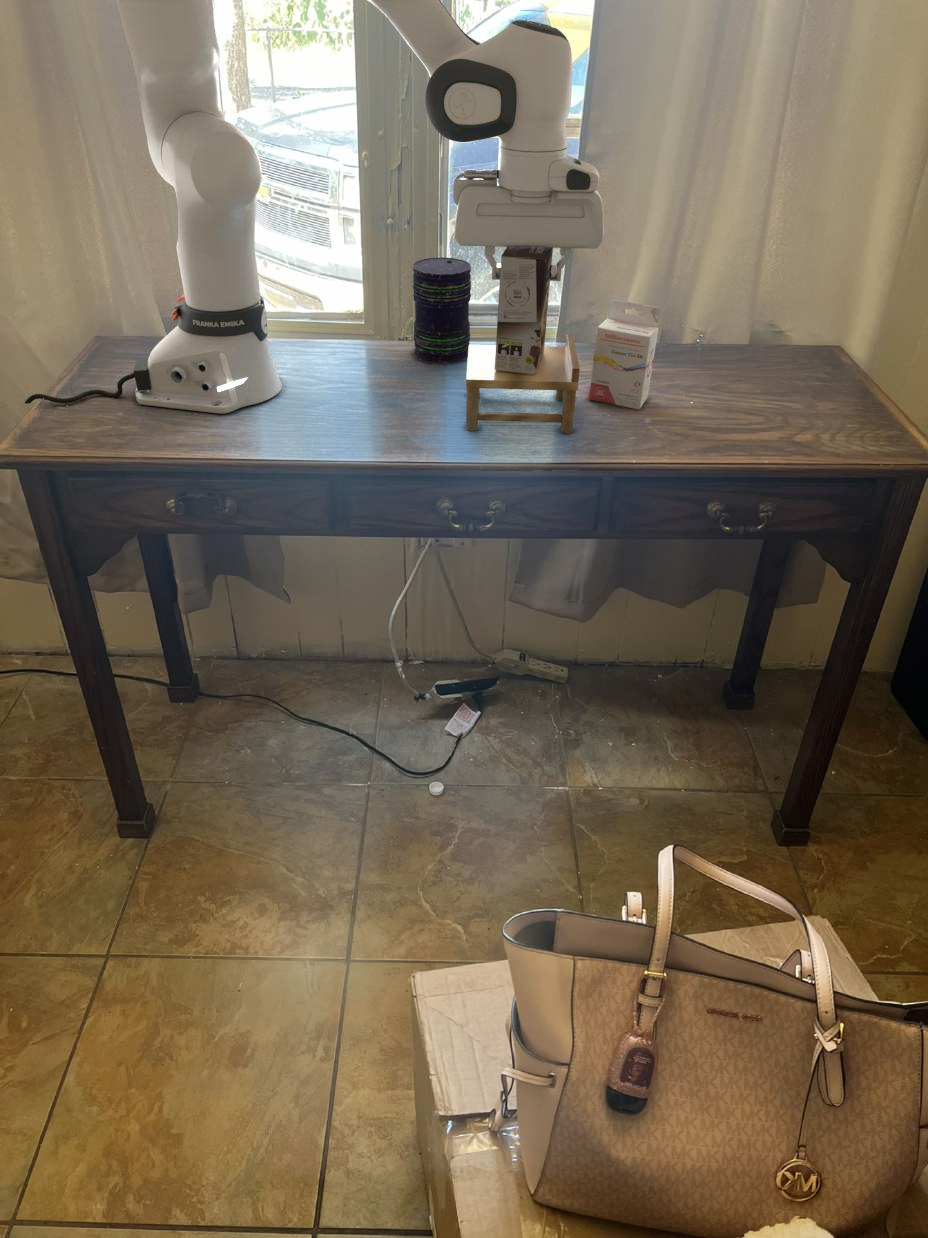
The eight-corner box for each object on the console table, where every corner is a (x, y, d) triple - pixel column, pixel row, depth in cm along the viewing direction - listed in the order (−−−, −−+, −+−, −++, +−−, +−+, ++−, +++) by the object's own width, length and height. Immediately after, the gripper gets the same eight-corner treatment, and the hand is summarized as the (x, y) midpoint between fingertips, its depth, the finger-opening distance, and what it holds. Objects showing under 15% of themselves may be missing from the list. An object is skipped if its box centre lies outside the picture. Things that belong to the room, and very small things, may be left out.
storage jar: (454, 367, 150) (455, 277, 141) (403, 358, 154) (401, 268, 145) (479, 349, 158) (481, 261, 149) (429, 340, 161) (429, 254, 152)
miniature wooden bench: (465, 431, 131) (466, 365, 125) (467, 393, 142) (468, 331, 136) (573, 434, 131) (579, 368, 125) (567, 395, 142) (573, 333, 136)
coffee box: (537, 375, 128) (547, 259, 118) (493, 371, 128) (499, 254, 119) (545, 353, 135) (555, 241, 125) (503, 348, 136) (510, 237, 126)
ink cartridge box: (587, 400, 141) (597, 306, 132) (597, 389, 144) (607, 297, 135) (640, 410, 138) (653, 315, 129) (648, 398, 141) (662, 305, 132)
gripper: (451, 173, 114) (451, 284, 122) (611, 177, 113) (599, 287, 122) (453, 164, 119) (453, 270, 127) (606, 167, 118) (596, 273, 127)
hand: (526, 279), depth 124 cm, fingers closed on coffee box, 7 cm apart
